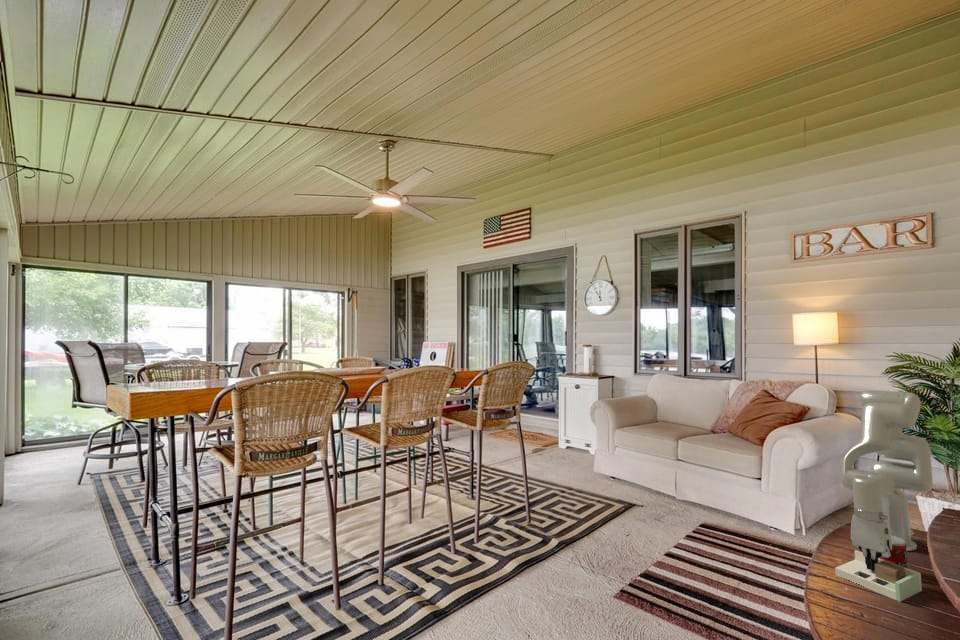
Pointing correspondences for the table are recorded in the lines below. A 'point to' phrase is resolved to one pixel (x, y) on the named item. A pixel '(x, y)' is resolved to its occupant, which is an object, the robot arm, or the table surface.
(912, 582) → the trap box
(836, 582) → the table surface
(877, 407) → the robot arm
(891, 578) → the block
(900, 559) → the canned food
